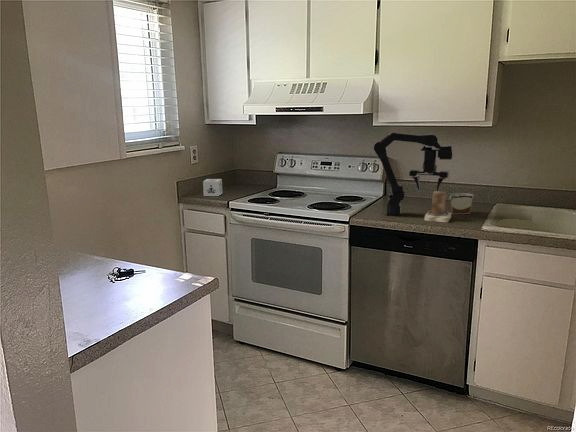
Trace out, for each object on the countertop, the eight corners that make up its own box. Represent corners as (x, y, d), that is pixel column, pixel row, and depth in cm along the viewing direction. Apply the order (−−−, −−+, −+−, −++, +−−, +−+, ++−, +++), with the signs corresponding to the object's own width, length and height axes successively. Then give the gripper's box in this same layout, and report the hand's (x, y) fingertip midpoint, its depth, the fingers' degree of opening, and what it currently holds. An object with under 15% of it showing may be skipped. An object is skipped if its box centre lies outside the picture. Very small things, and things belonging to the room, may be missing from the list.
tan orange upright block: (431, 214, 233) (432, 192, 231) (433, 212, 238) (434, 190, 236) (443, 215, 231) (444, 193, 228) (444, 213, 236) (446, 191, 233)
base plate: (424, 220, 233) (424, 213, 232) (428, 215, 242) (428, 209, 242) (447, 222, 228) (448, 215, 227) (451, 217, 238) (451, 211, 237)
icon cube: (207, 194, 311) (206, 179, 309) (222, 194, 310) (221, 179, 308) (203, 197, 302) (202, 181, 299) (219, 197, 301) (218, 181, 298)
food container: (467, 211, 252) (469, 192, 249) (472, 213, 246) (474, 194, 243) (445, 211, 251) (446, 193, 249) (449, 214, 245) (450, 195, 243)
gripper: (451, 158, 240) (449, 189, 243) (414, 157, 248) (413, 186, 251) (448, 161, 230) (446, 192, 234) (409, 159, 238) (408, 190, 242)
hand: (428, 190), depth 240 cm, fingers open, 9 cm apart
